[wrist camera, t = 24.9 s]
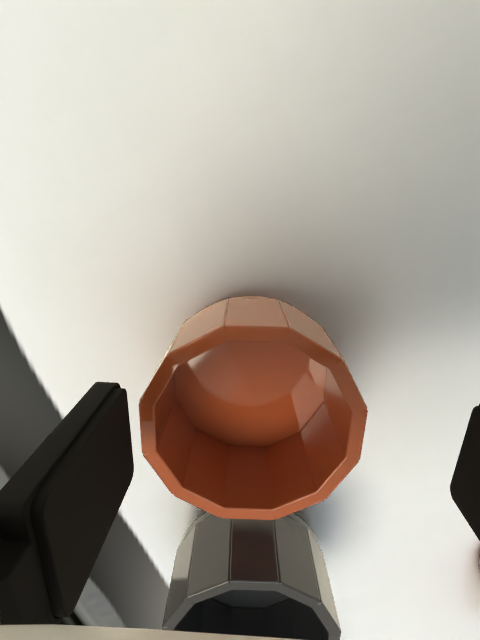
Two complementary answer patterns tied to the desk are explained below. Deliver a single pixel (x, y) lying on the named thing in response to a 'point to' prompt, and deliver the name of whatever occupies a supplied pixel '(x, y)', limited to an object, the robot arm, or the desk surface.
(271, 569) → the bottom bowl
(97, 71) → the desk surface
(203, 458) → the middle bowl
